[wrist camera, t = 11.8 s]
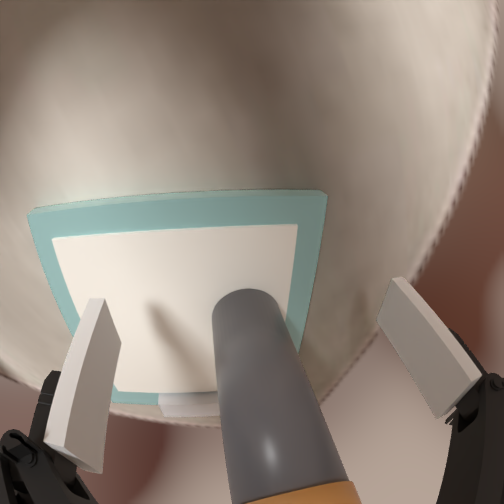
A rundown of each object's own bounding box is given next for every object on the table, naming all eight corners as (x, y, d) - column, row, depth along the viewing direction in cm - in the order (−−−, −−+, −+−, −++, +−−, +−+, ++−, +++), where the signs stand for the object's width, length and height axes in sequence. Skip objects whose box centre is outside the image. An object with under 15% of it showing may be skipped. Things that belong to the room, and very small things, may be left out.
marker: (207, 289, 15) (236, 560, 3) (283, 283, 15) (392, 517, 4) (212, 345, 17) (241, 558, 5) (278, 339, 17) (349, 535, 6)
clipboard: (35, 208, 12) (15, 224, 10) (320, 189, 14) (337, 204, 12) (114, 394, 21) (111, 414, 19) (285, 387, 23) (290, 407, 22)
